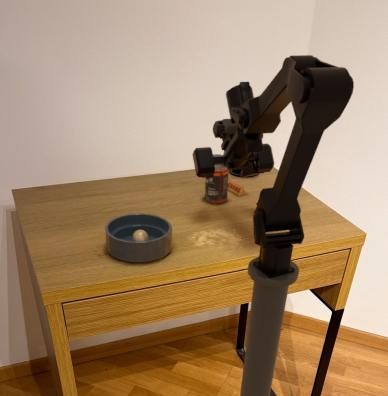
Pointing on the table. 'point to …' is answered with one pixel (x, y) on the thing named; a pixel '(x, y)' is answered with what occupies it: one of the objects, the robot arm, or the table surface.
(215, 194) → the supplement bottle
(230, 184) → the chocolate bar
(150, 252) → the bowl
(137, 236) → the bead
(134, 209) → the table surface
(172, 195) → the table surface
